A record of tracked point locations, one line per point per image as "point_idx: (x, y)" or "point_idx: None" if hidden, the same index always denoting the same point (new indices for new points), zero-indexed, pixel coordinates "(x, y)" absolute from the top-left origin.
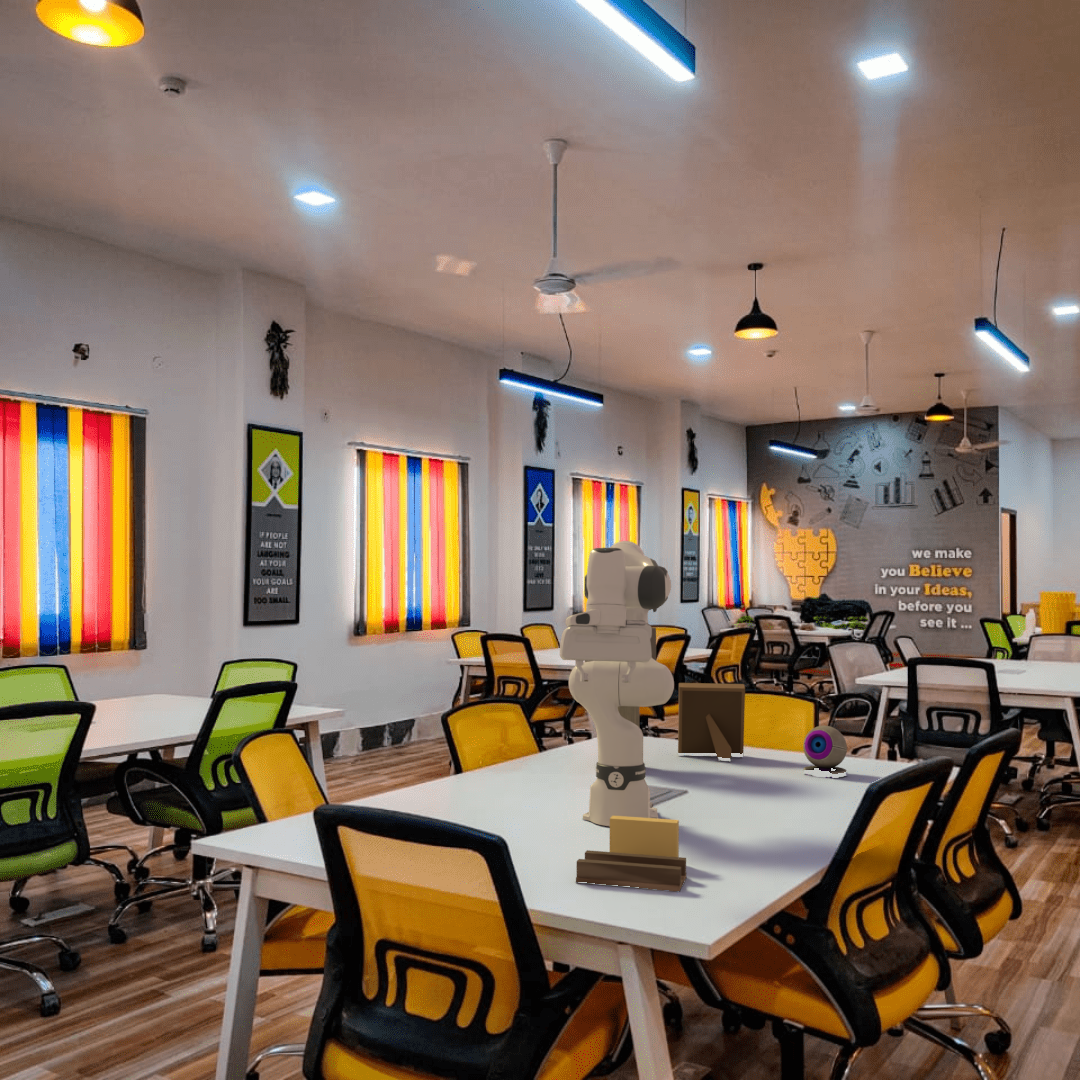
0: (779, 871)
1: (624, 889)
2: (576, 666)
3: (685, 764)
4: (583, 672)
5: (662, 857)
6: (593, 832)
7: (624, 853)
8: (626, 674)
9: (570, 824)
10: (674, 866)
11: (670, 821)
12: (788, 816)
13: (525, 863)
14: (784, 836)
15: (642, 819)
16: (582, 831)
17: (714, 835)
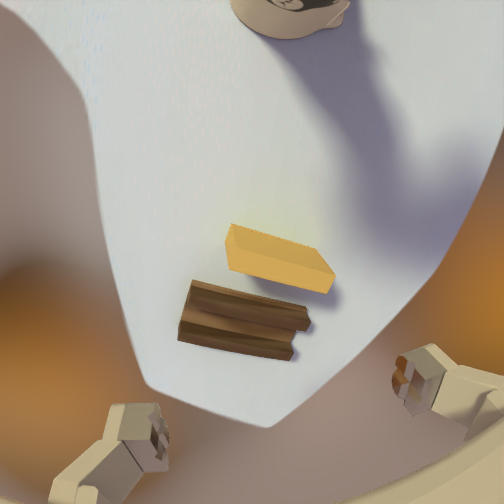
0: (404, 278)
1: None
2: (70, 486)
3: None
4: (135, 477)
5: (283, 322)
6: (222, 61)
7: (239, 308)
8: (440, 385)
9: (190, 9)
10: (286, 352)
11: (321, 285)
12: (486, 43)
13: (112, 250)
14: (465, 131)
15: (282, 275)
16: (204, 54)
17: (401, 105)
